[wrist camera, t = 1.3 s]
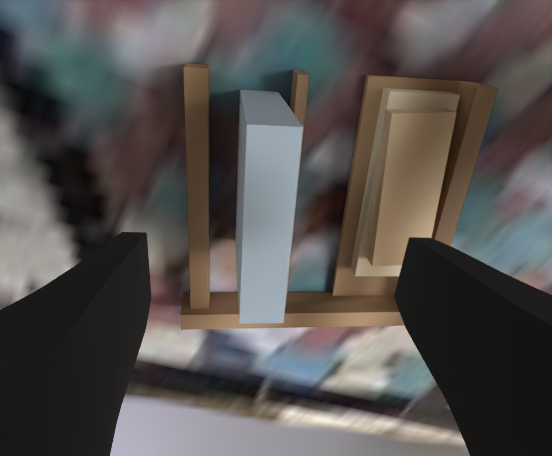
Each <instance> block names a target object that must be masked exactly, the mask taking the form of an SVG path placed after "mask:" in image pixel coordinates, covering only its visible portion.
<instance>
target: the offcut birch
mask: <svg viewBox="0 0 552 456" xmlns="http://www.w3.org/2000/svg"><path fill="white" fill-rule="evenodd" d="M459 98H460V95H458V94H455V93H452V92H439V91H423V90H406V89H389V88H383V92H382V97H381V103H380V108H379V114H378V119H377V125H376V131H375V136H374V142H373V147H372V153H371V158H370V164H369V169H368V175H367V180H366V186H365V191H364V197H363V202H362V208H361V213H360V219H359V224H358V230H357V235H356V241H355V246H354V252H353V257H352V263H351V269H352V271H353V273H354V275H355V276H399V275H400V271H401V267H402V265H395V266H378V267H372V266H371V264H370V262H369V261H368V259H367V253H368V245H369V237H370V228H371V220H372V212H373V204H374V195H375V187H376V179H377V171H378V162H379V154H380V146H381V138H382V129H383V121H384V113H385V110H386V109H433V108H448V109H450V110H453V111H455V112H456V109H457V106H458V102H459Z"/></svg>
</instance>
